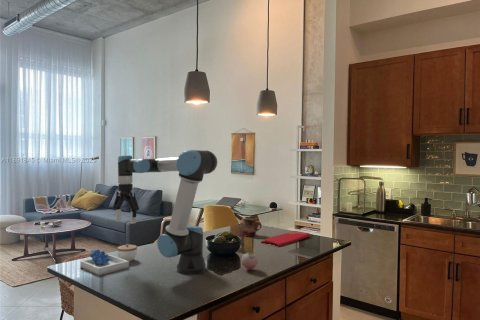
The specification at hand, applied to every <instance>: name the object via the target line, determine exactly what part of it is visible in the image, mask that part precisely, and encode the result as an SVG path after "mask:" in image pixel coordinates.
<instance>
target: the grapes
mask: <svg viewBox="0 0 480 320" xmlns="http://www.w3.org/2000/svg"><path fill="white" fill-rule="evenodd" d="M108 255H109V254H106V252H105V251H103V250H102V251H101V250H100V249H93V250H91V252H90V254H89V256H90V259H92V260H93V261H95V263H96V264H97V263H98V264H100V263H102V264H106V263H107V262H109V258H108V257H109V256H108Z"/></svg>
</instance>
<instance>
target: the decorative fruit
mask: <svg viewBox="0 0 480 320" xmlns="http://www.w3.org/2000/svg"><path fill="white" fill-rule="evenodd" d="M240 261H241V265H242V266H243V267H244V268H245V269H247V270H249V271H251V270H253V269H254V268H256V267H257V265H258V261H259V258H258V257H257V256H256V255H255V254H254V253H252V252H251V251H247V252H246V253H244V254H243V255H242V257H241V260H240Z"/></svg>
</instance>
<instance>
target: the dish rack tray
mask: <svg viewBox="0 0 480 320" xmlns="http://www.w3.org/2000/svg"><path fill="white" fill-rule="evenodd" d="M108 256H109V257H108V258H109V262H107V263H106V264H102V263H100V264H98V263H97V264H96V263H95V261H93V260H92V258H89V259H85V260H80V265H79V266H80V267H81V268H80V269H82V268H83V270H84V271H87V272H90V273H91V274H94V275H96V276H103V275H106V274H109V273H113V272H118V271H121V270H125V269H129V268H130V267H129V266H130V263H129V261H127V260H124V259H121V258H119V257H118V256H115V255H113V254H108Z"/></svg>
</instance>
